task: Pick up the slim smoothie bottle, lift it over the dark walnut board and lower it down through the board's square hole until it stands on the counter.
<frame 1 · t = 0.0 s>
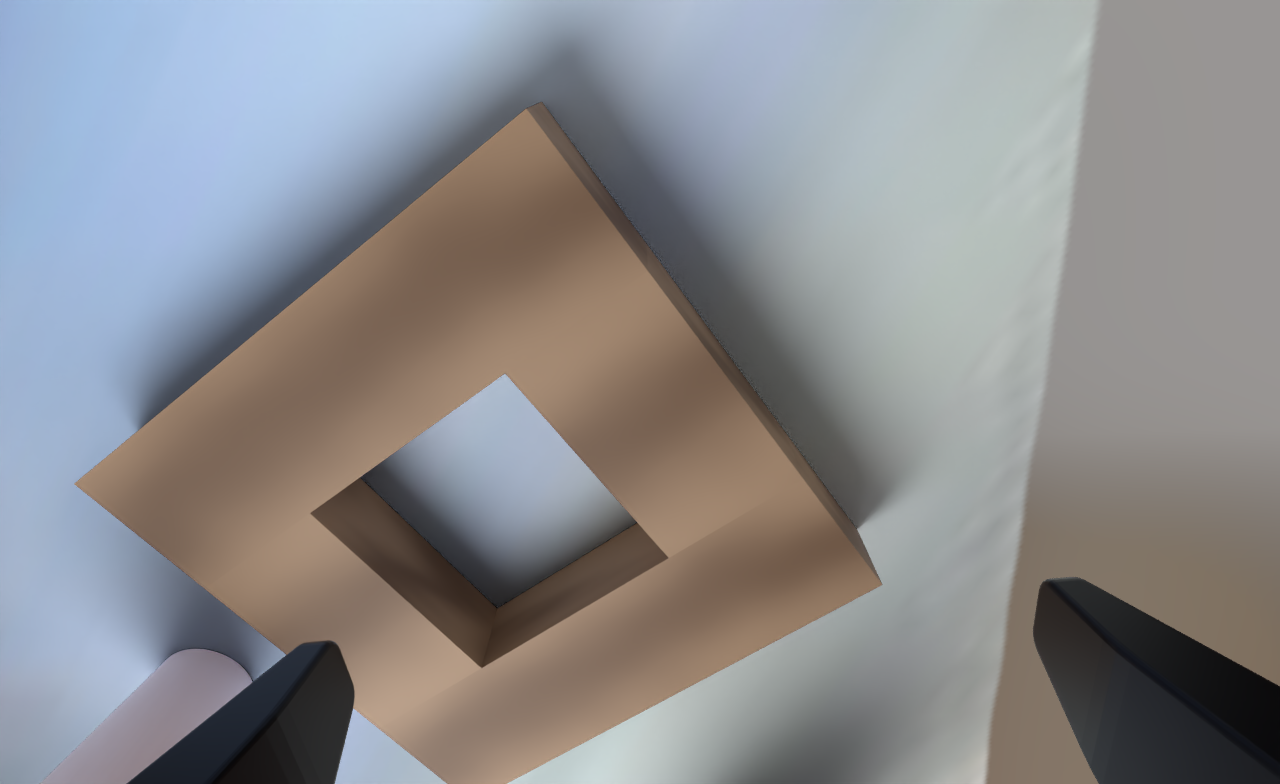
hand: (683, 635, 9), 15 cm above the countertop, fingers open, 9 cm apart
hole board: (508, 485, 25), on the countertop
smoothie: (210, 678, 30), on the countertop
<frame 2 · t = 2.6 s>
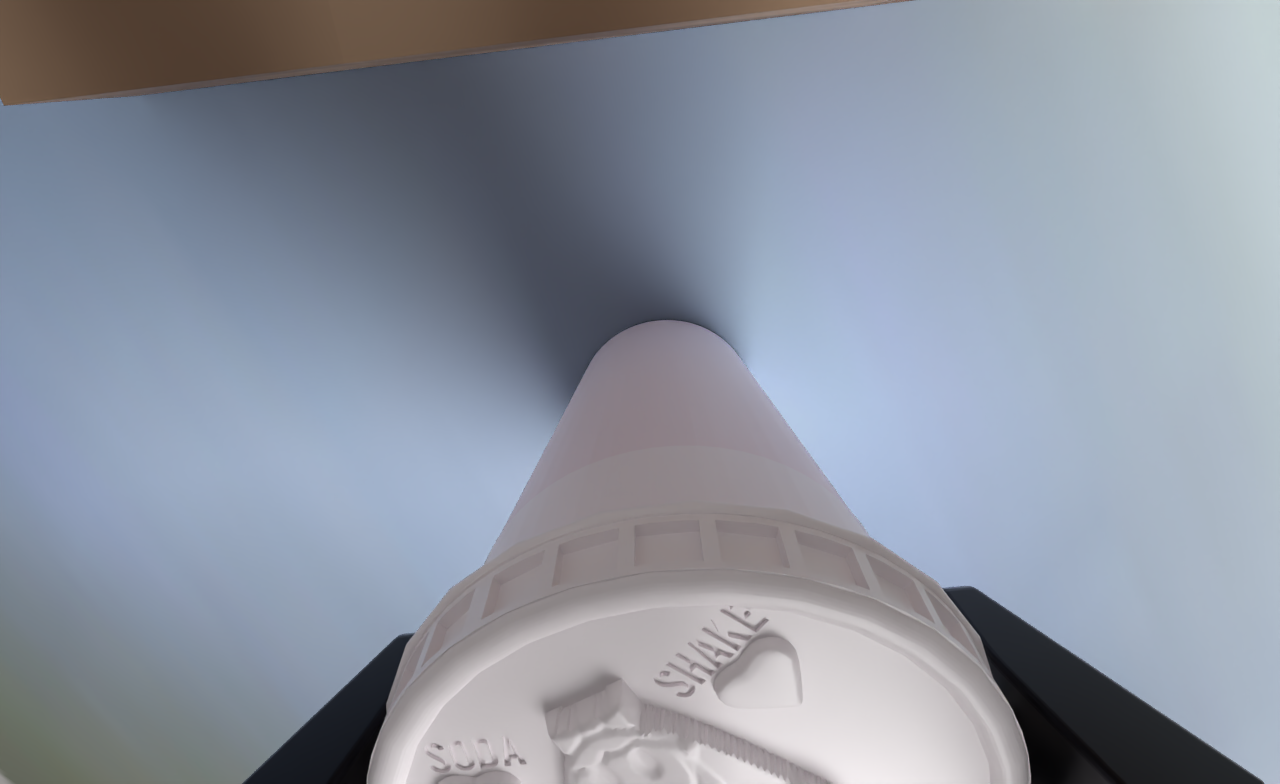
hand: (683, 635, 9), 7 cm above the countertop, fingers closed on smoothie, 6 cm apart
smoothie: (665, 396, 16), on the countertop, touching gripper
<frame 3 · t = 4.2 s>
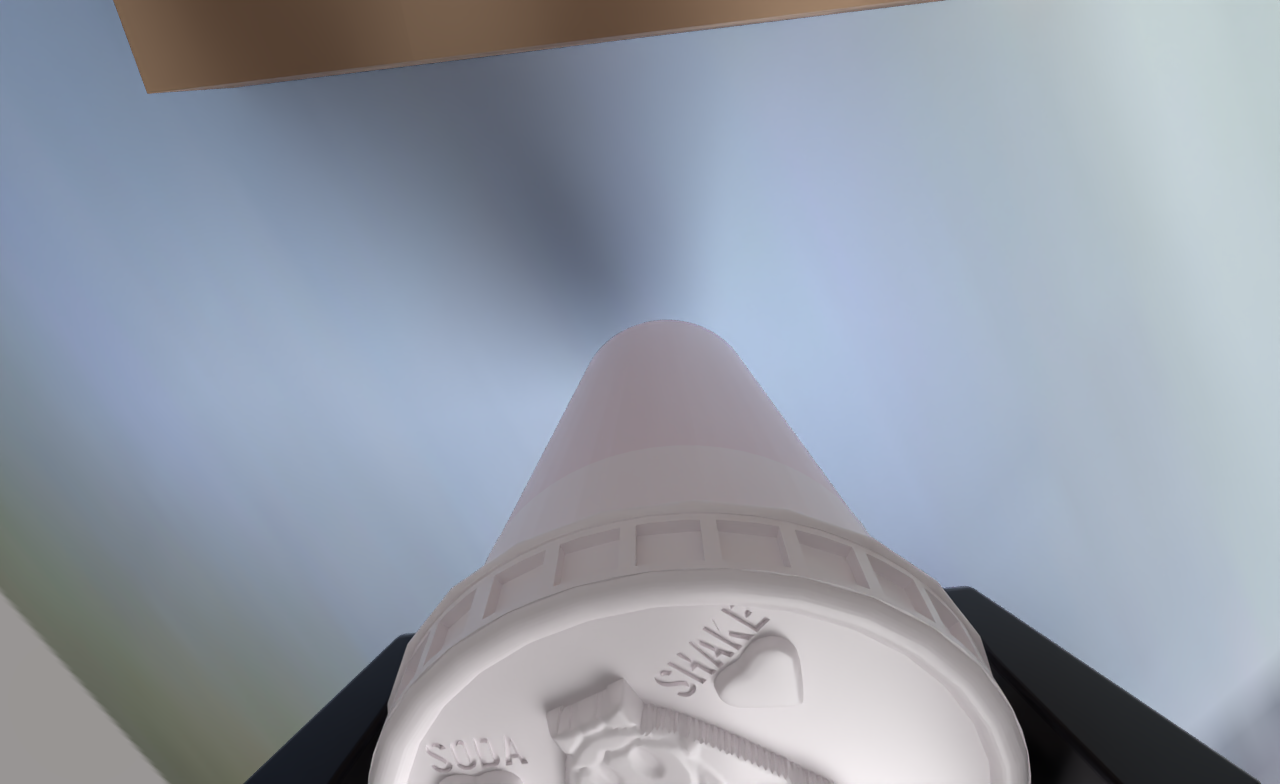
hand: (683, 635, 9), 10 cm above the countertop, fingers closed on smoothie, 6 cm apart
smoothie: (665, 396, 16), point 3 cm above the countertop, touching gripper
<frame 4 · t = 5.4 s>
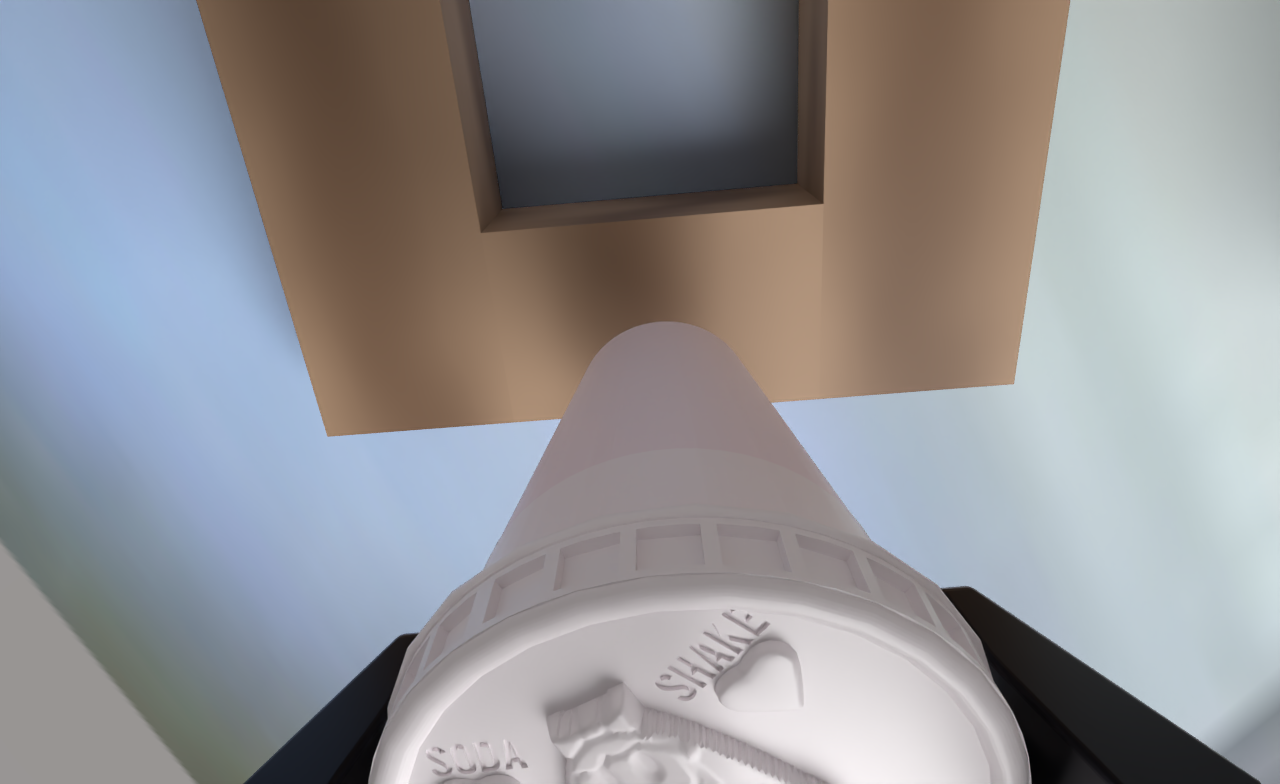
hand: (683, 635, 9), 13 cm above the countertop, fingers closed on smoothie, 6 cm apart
hole board: (636, 31, 18), on the countertop
smoothie: (664, 397, 16), point 6 cm above the countertop, touching gripper
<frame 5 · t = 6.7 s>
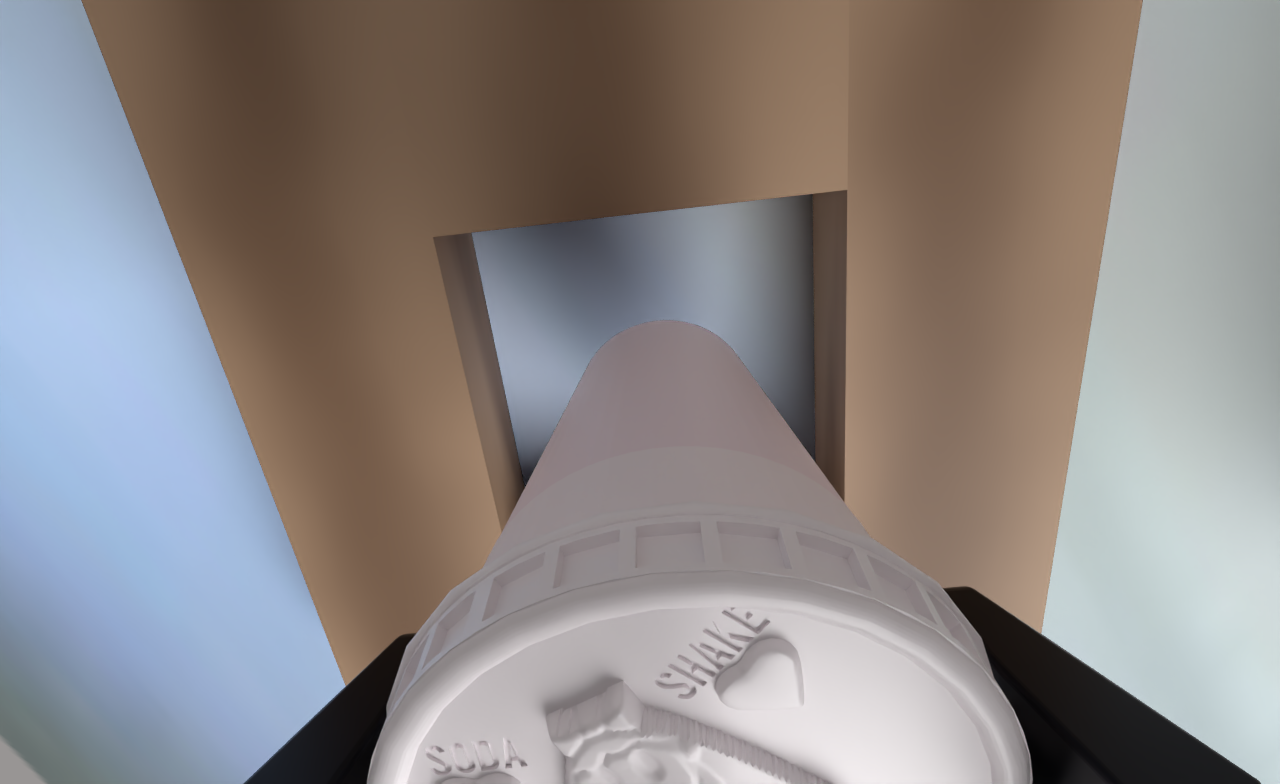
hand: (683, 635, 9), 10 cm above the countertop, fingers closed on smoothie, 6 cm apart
hole board: (655, 349, 18), on the countertop
smoothie: (664, 396, 16), point 3 cm above the countertop, touching gripper
when the fingers open (8 cm above the countertop, at t = 8.0 s): smoothie stays where it is, resting in hole board.
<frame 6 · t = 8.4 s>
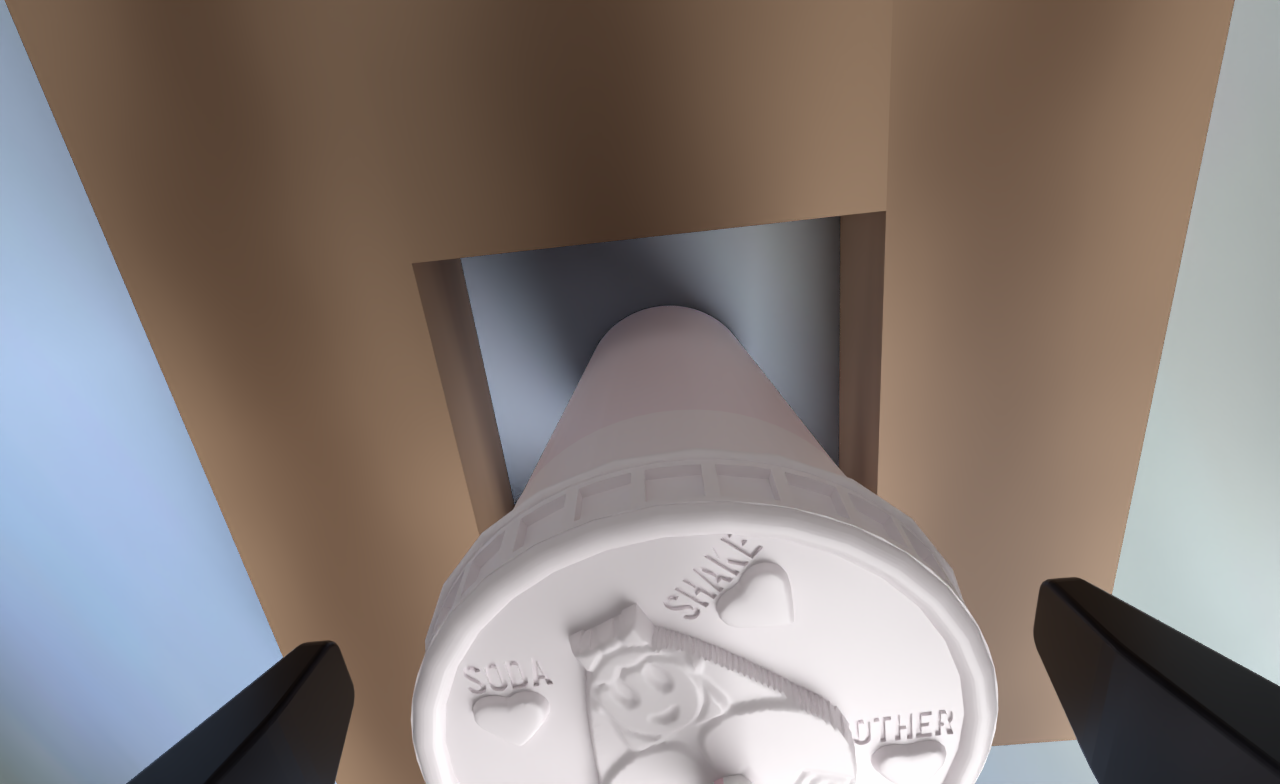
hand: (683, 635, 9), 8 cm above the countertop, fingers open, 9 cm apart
hole board: (663, 381, 16), on the countertop
smoothie: (667, 378, 17), resting in hole board
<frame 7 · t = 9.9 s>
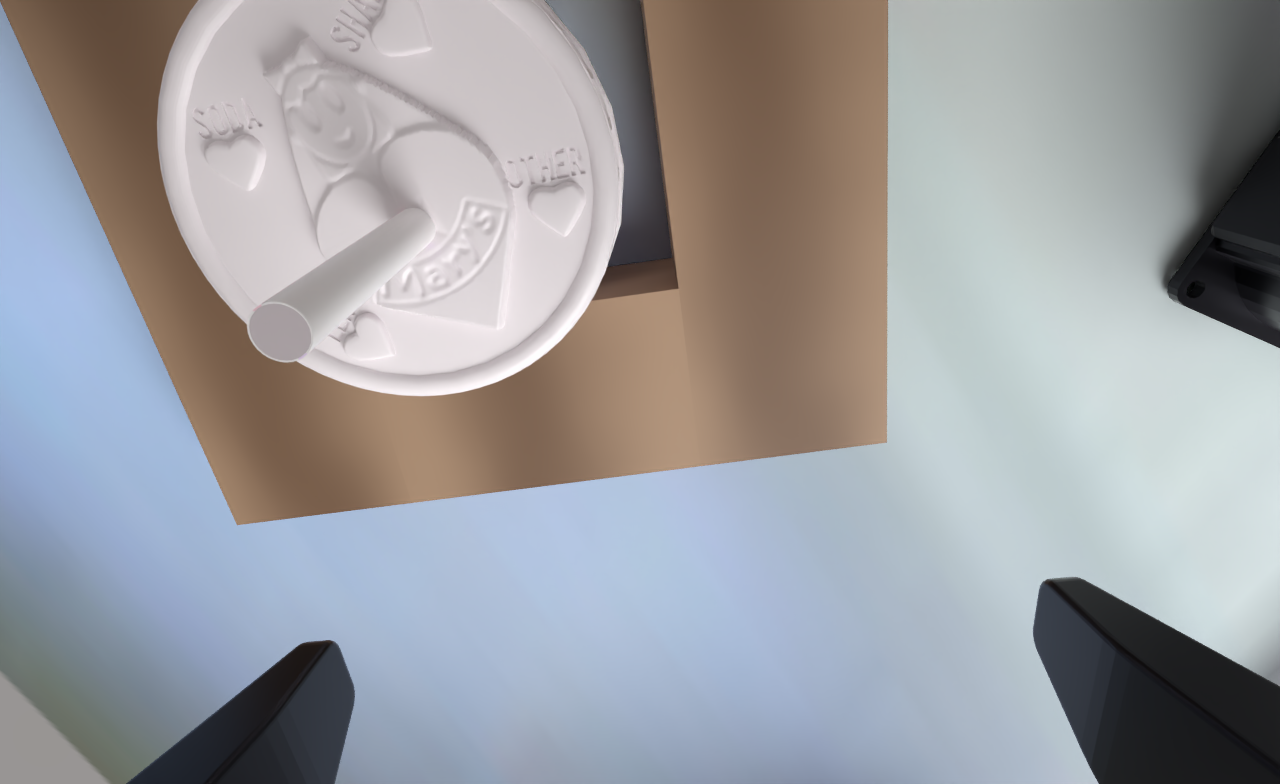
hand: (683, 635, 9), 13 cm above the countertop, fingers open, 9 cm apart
hole board: (500, 128, 19), on the countertop
smoothie: (505, 128, 19), resting in hole board
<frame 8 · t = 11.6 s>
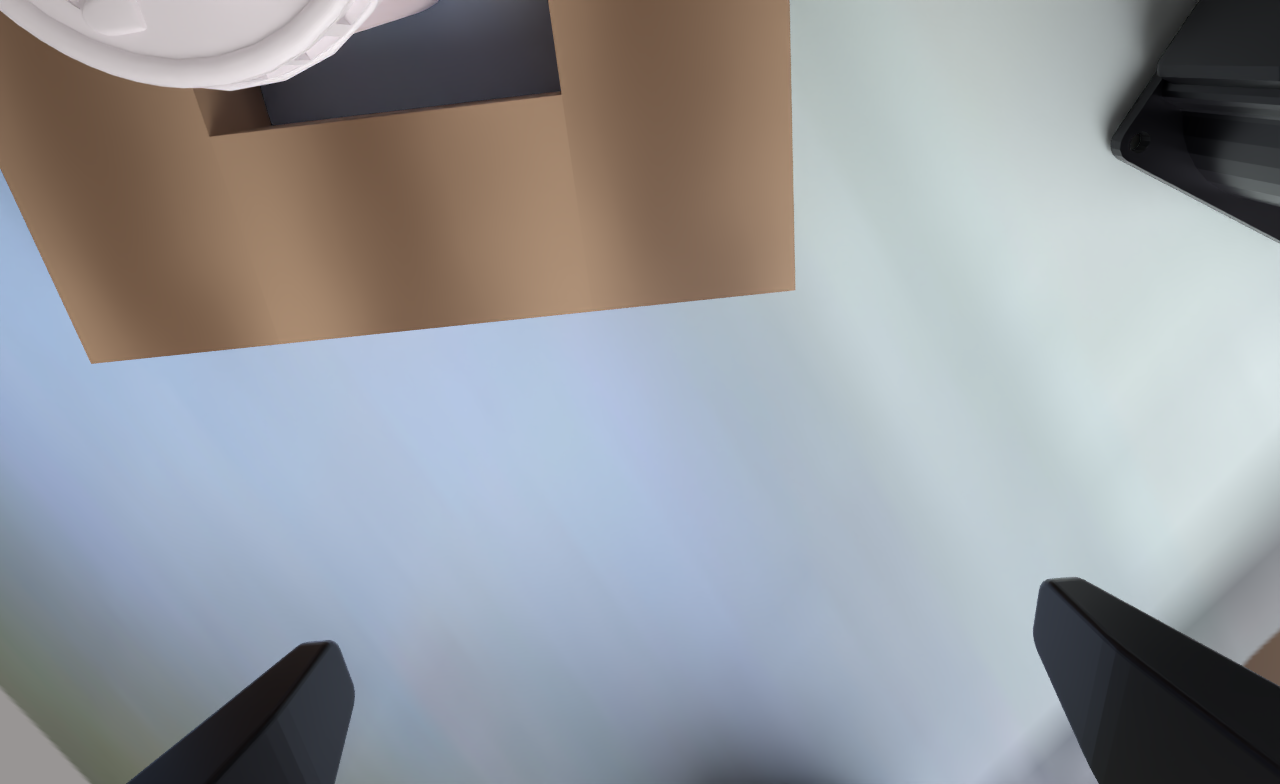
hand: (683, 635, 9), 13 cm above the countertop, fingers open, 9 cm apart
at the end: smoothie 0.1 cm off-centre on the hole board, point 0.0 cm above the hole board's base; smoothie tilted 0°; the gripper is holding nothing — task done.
